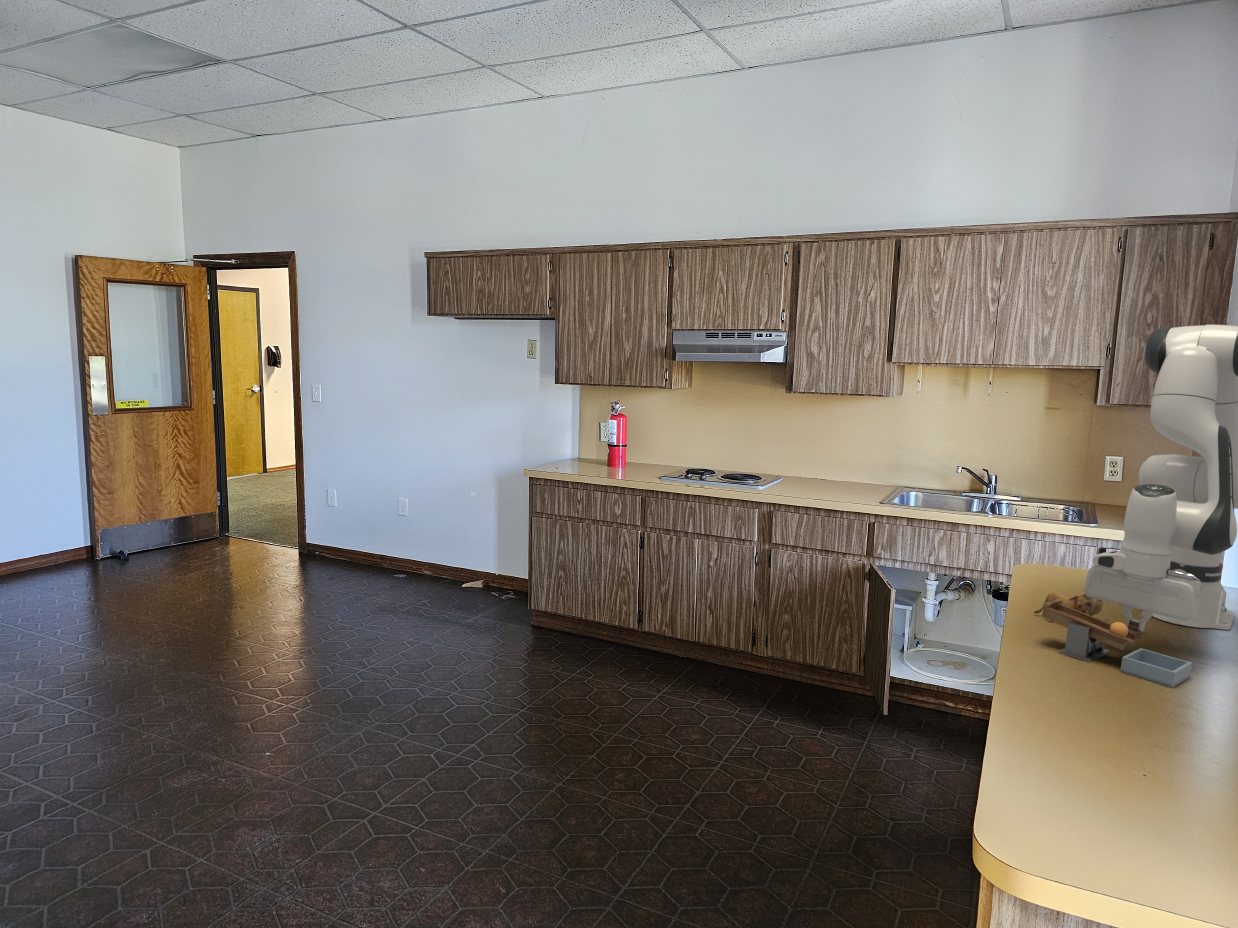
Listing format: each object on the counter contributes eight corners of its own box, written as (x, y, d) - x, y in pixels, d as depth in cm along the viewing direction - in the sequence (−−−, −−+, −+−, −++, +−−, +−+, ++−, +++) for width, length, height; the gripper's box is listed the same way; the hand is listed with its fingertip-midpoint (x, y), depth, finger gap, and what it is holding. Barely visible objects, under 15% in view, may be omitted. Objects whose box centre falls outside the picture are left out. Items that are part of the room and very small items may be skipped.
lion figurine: (1104, 631, 181) (1109, 593, 180) (1092, 636, 178) (1097, 596, 177) (1039, 613, 193) (1043, 576, 192) (1027, 616, 190) (1031, 579, 189)
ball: (1110, 624, 165) (1125, 618, 162) (1119, 638, 164) (1134, 633, 161) (1103, 626, 163) (1118, 621, 161) (1112, 641, 162) (1127, 636, 159)
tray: (1138, 662, 164) (1140, 647, 163) (1190, 677, 157) (1192, 662, 156) (1120, 671, 158) (1122, 656, 158) (1172, 687, 151) (1175, 672, 151)
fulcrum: (1078, 644, 173) (1082, 613, 172) (1109, 653, 168) (1113, 621, 167) (1059, 652, 167) (1062, 621, 166) (1089, 662, 162) (1093, 629, 161)
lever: (1069, 606, 179) (1072, 593, 178) (1147, 637, 167) (1151, 624, 166) (1041, 616, 171) (1045, 603, 170) (1121, 650, 159) (1126, 636, 158)
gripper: (1209, 574, 159) (1199, 641, 161) (1097, 551, 175) (1089, 612, 176) (1197, 578, 155) (1187, 647, 157) (1085, 554, 171) (1076, 617, 173)
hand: (1134, 628), depth 167 cm, fingers closed
